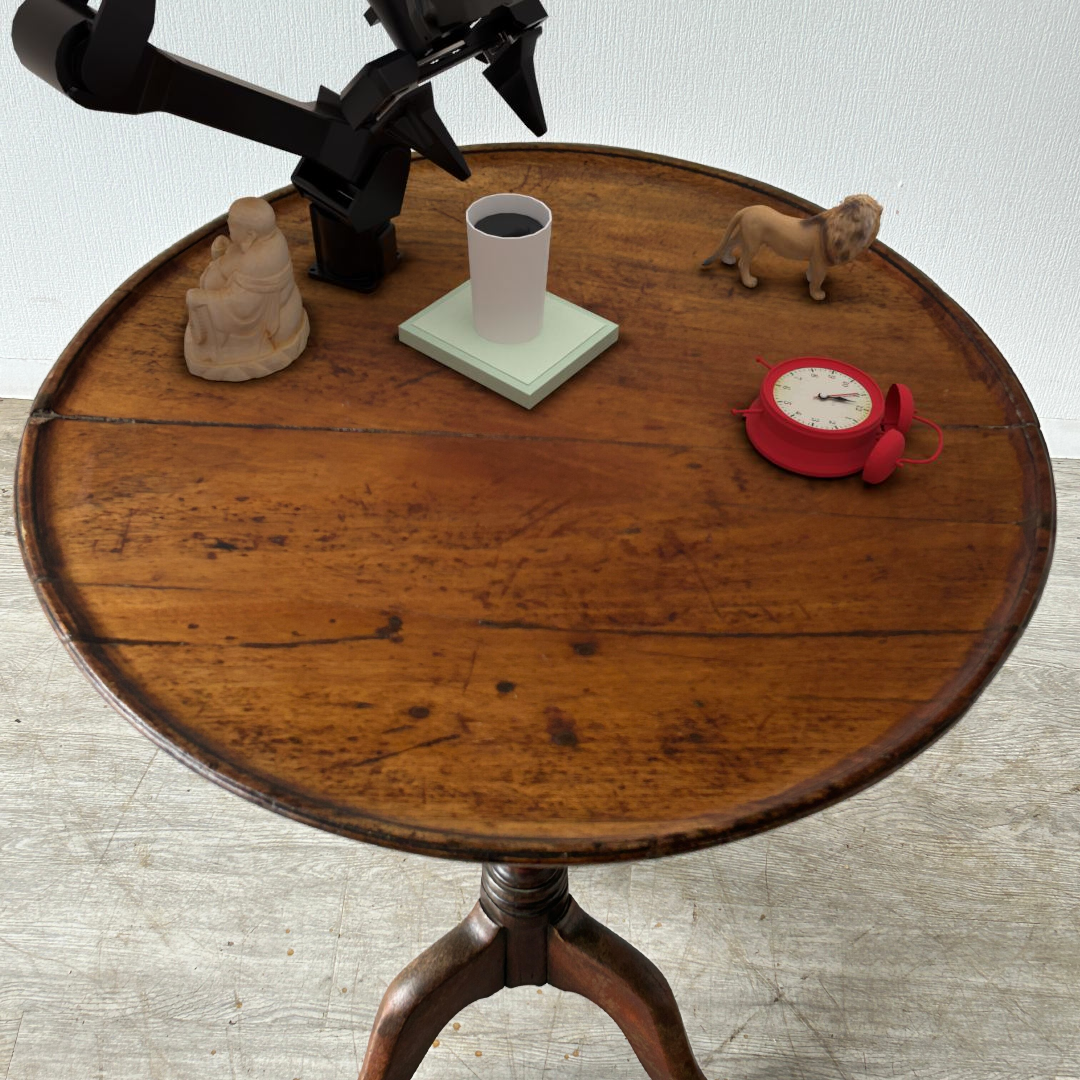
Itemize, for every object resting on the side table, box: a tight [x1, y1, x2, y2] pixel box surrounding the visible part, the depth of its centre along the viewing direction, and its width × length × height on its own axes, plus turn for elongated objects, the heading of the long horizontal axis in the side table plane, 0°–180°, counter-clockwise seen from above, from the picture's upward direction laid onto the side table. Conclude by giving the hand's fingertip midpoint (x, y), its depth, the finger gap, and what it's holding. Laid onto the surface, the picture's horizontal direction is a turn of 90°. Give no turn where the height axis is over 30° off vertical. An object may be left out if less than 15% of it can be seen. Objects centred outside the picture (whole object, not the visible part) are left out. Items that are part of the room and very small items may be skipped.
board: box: [397, 278, 620, 410], centre depth 94 cm, size 14×12×2 cm
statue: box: [183, 196, 311, 382], centre depth 90 cm, size 12×14×10 cm
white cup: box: [465, 193, 553, 344], centre depth 90 cm, size 7×7×10 cm
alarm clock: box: [730, 356, 944, 485], centre depth 85 cm, size 10×6×15 cm
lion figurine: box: [700, 193, 884, 301], centre depth 99 cm, size 15×5×9 cm, turn 80°
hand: (506, 156), depth 89 cm, fingers open, 9 cm apart
